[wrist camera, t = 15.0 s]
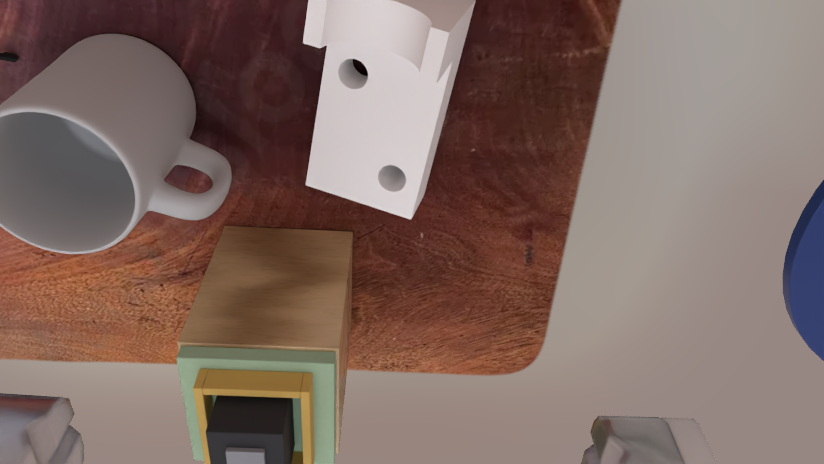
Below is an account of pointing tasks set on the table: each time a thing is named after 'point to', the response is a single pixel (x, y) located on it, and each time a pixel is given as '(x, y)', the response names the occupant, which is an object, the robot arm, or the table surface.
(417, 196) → the bracket
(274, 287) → the stand
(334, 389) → the base pad
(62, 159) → the mug
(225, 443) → the black block
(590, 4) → the table surface
